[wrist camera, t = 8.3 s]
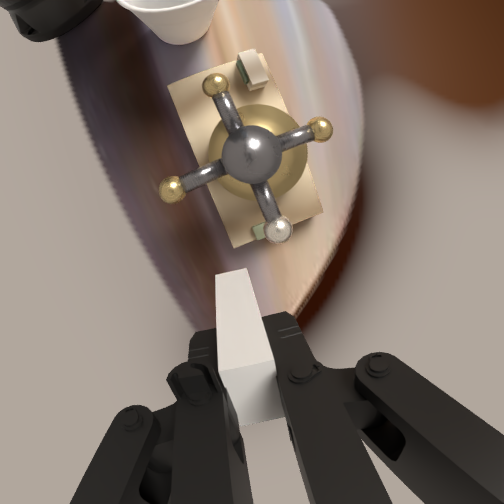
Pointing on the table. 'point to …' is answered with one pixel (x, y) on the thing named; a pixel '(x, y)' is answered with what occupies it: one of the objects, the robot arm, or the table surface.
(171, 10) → the cup
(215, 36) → the table surface
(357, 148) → the table surface
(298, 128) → the capstan
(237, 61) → the stand
